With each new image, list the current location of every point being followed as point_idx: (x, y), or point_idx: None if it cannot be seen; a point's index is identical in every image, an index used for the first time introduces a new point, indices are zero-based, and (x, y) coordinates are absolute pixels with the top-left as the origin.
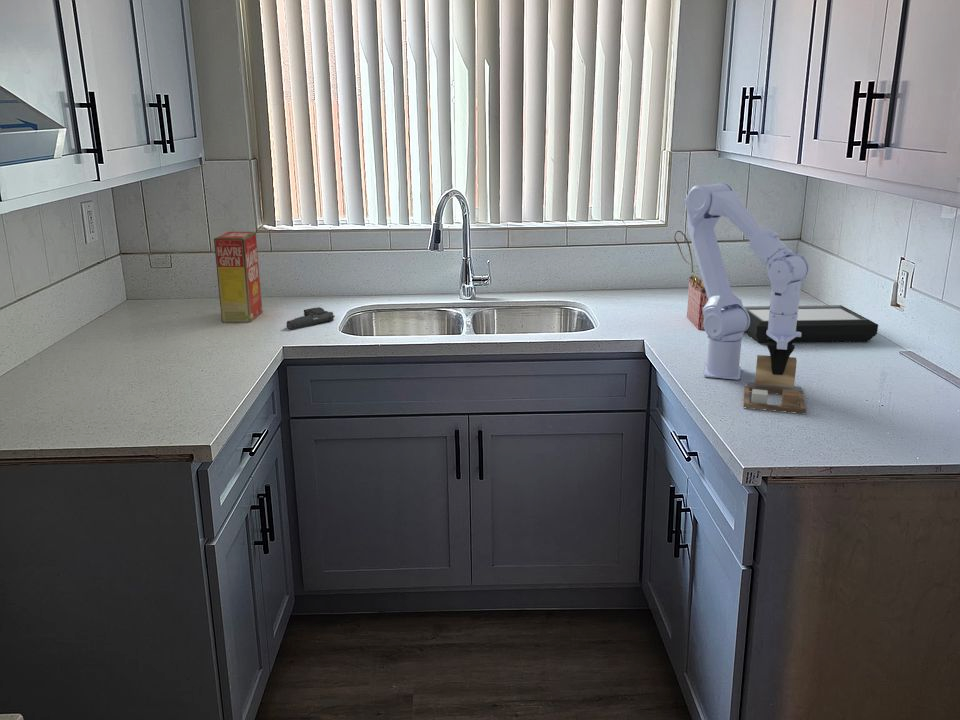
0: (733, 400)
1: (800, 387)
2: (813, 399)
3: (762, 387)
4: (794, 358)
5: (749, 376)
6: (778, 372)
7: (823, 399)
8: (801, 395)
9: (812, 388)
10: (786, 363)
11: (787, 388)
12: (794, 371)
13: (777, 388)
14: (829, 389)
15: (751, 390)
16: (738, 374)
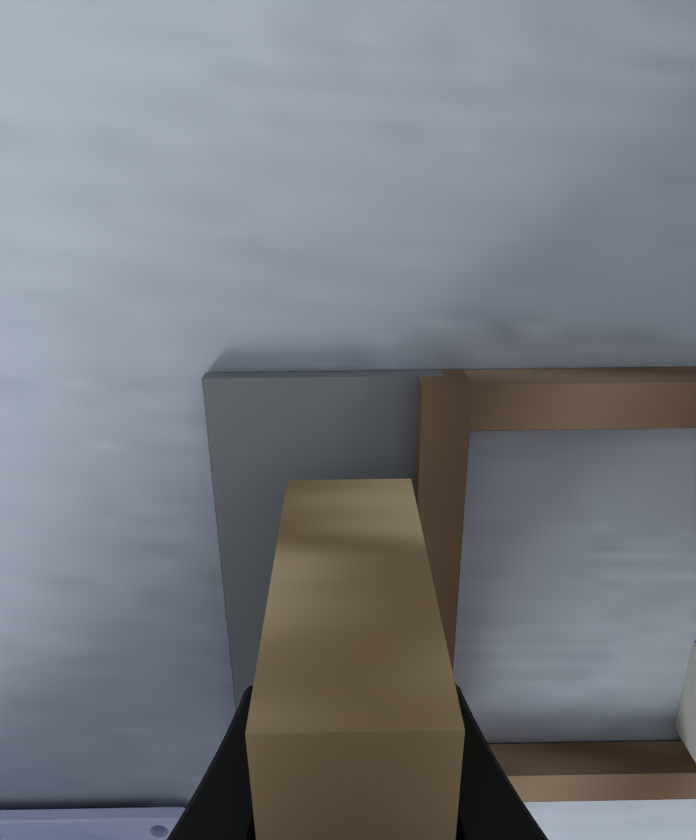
0: (655, 815)
1: (232, 386)
2: (525, 265)
3: None
4: (316, 755)
5: (46, 747)
6: None
7: (503, 156)
8: (583, 402)
9: (155, 255)
10: (531, 815)
11: None
12: (437, 605)
13: None
14: (110, 52)
15: None
16: (98, 830)
